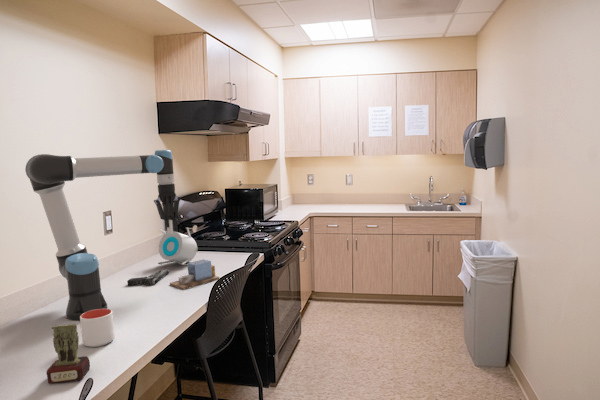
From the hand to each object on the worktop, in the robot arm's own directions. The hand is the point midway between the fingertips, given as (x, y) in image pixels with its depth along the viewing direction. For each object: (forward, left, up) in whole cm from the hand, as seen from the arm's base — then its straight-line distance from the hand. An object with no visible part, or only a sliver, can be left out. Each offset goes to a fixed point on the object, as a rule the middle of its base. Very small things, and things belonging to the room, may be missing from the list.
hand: (170, 233), depth 219 cm
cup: (-52, -39, -25) cm, 70 cm away
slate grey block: (+11, -5, -23) cm, 26 cm away
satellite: (+22, +33, -25) cm, 47 cm away
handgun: (-3, +18, -25) cm, 31 cm away
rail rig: (+8, -5, -24) cm, 26 cm away
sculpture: (-68, -57, -25) cm, 92 cm away
